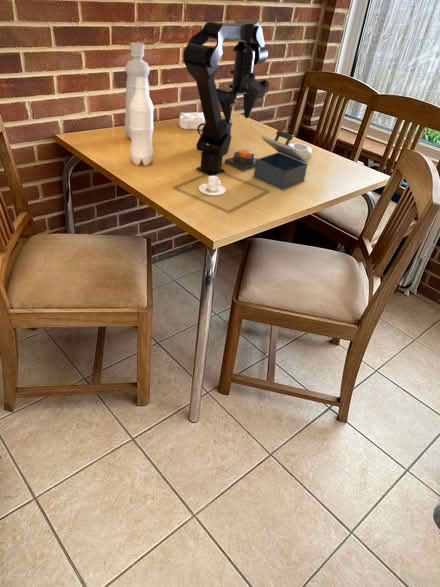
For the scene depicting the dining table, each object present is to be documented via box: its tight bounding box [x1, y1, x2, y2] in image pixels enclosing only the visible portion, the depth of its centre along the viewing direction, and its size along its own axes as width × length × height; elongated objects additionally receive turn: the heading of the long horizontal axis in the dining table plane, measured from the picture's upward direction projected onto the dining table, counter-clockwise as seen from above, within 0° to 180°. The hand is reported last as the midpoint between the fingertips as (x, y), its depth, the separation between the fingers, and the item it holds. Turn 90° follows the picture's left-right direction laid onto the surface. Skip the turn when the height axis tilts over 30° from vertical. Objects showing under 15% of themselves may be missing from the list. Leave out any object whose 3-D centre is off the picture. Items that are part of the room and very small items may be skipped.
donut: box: [288, 142, 313, 160], centre depth 163 cm, size 10×4×10 cm
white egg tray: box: [178, 111, 205, 131], centre depth 180 cm, size 3×18×15 cm
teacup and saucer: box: [198, 175, 226, 196], centre depth 133 cm, size 9×8×4 cm
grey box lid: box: [260, 129, 309, 164], centre depth 139 cm, size 12×12×4 cm
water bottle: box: [129, 77, 155, 166], centre depth 137 cm, size 7×7×25 cm
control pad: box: [224, 150, 257, 172], centre depth 152 cm, size 10×8×3 cm
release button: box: [238, 148, 252, 158], centre depth 151 cm, size 4×4×2 cm
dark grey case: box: [253, 151, 308, 191], centre depth 143 cm, size 12×12×6 cm
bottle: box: [124, 42, 151, 140], centre depth 153 cm, size 9×9×30 cm
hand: (237, 120), depth 147 cm, fingers open, 9 cm apart
